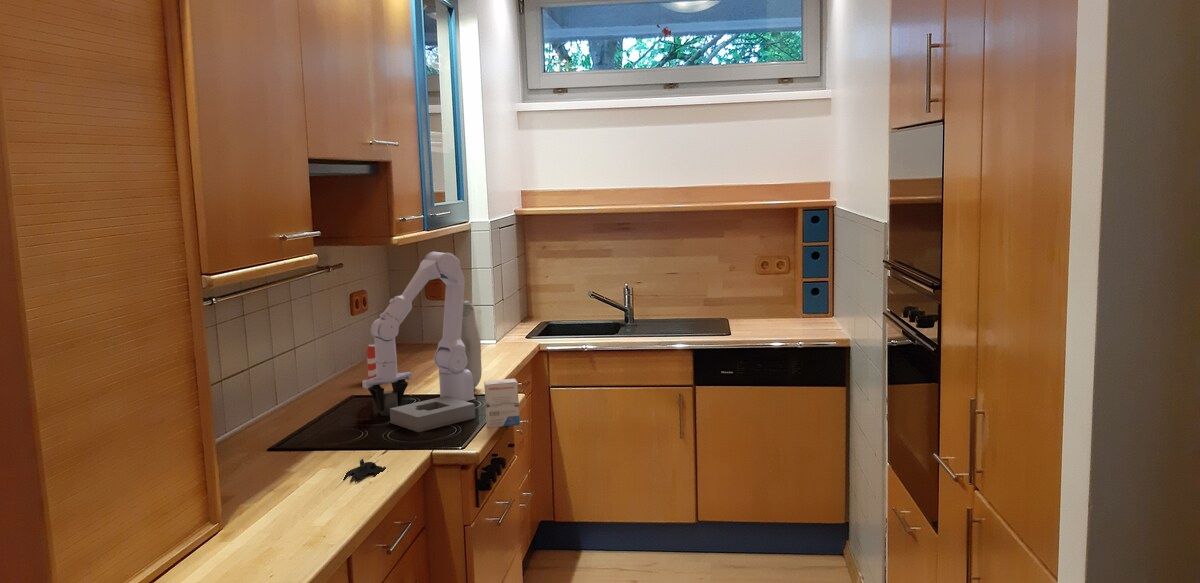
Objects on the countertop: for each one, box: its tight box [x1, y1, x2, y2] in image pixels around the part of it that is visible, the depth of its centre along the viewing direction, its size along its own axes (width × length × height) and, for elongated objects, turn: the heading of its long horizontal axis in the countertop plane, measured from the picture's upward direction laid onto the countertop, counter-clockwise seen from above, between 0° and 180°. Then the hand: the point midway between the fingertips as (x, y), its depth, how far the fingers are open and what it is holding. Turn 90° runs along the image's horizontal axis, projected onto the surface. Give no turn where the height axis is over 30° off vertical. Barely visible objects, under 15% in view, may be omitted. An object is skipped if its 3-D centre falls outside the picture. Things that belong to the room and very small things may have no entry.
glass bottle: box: [461, 299, 483, 389], centre depth 282 cm, size 10×10×28 cm
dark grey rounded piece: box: [379, 390, 398, 417], centre depth 258 cm, size 6×5×6 cm
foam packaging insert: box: [389, 396, 476, 433], centre depth 249 cm, size 18×14×4 cm
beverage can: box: [366, 343, 377, 379], centre depth 300 cm, size 6×6×12 cm
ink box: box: [483, 378, 521, 429], centre depth 242 cm, size 9×5×12 cm, turn 101°
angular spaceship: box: [343, 458, 387, 483], centre depth 204 cm, size 11×15×3 cm
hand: (389, 408), depth 258 cm, fingers closed on dark grey rounded piece, 5 cm apart
